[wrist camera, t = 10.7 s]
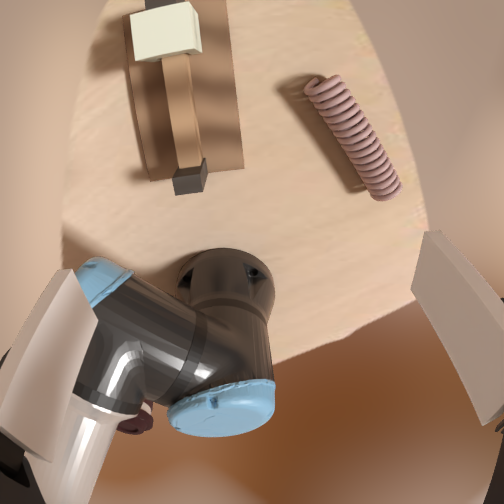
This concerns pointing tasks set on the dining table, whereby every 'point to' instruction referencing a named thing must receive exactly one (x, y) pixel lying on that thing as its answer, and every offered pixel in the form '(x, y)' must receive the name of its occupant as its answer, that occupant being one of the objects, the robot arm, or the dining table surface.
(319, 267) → the dining table surface
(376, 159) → the coil
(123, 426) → the coffee cup
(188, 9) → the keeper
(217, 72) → the track
